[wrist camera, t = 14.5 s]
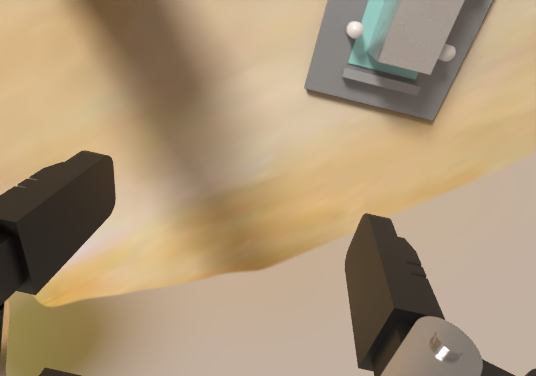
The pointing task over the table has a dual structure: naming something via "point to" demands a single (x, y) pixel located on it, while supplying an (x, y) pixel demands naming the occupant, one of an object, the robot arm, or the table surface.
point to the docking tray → (380, 74)
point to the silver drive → (413, 32)
